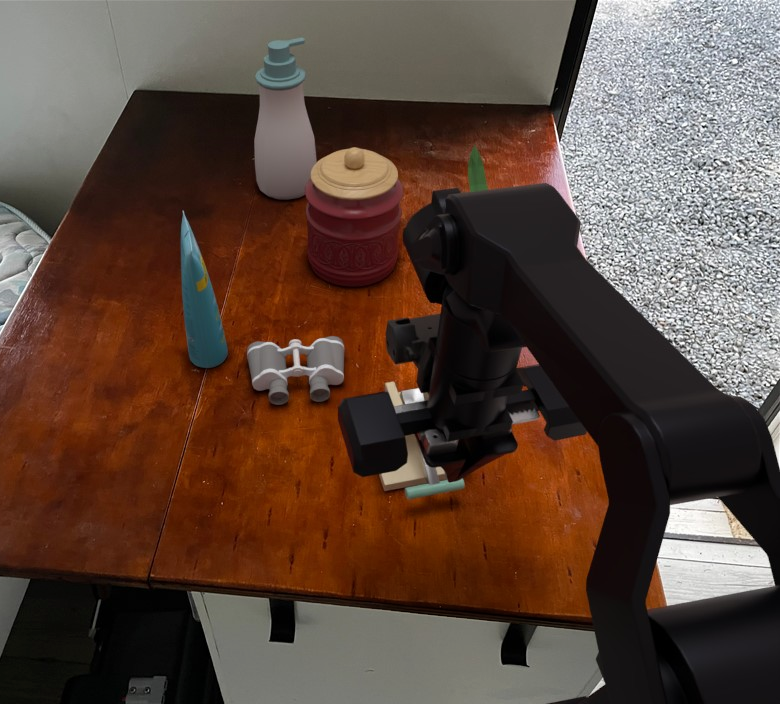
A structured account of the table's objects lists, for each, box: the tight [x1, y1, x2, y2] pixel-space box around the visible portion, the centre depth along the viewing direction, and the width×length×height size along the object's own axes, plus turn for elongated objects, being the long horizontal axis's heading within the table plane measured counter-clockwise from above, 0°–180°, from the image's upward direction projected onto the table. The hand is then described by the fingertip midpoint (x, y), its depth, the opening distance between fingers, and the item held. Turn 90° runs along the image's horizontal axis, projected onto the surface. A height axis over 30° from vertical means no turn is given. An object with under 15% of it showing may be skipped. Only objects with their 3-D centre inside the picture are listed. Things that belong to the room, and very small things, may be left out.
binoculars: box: [246, 335, 346, 406], centre depth 85 cm, size 12×8×4 cm, turn 94°
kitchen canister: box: [304, 146, 404, 288], centre depth 95 cm, size 13×13×18 cm
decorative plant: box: [467, 145, 489, 192], centre depth 101 cm, size 6×8×30 cm
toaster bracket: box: [378, 381, 447, 492], centre depth 77 cm, size 12×9×8 cm
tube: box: [180, 210, 229, 369], centre depth 83 cm, size 7×5×19 cm, turn 19°
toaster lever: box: [399, 387, 466, 501], centre depth 74 cm, size 11×6×2 cm, turn 12°
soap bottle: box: [253, 36, 317, 201], centre depth 107 cm, size 10×10×23 cm
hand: (451, 477), depth 60 cm, fingers closed
